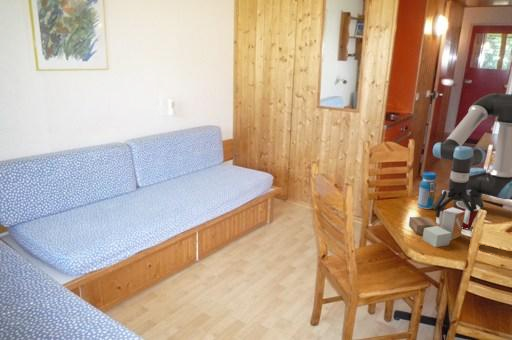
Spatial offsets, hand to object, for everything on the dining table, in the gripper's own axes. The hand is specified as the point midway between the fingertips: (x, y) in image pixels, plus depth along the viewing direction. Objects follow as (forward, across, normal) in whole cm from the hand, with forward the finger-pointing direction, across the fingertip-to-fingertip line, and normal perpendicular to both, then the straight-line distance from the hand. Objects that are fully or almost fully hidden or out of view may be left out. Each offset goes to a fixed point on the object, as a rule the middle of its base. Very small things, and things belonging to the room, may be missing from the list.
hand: (451, 223), depth 182 cm
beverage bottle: (+7, +6, +38) cm, 39 cm away
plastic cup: (+7, +13, +10) cm, 18 cm away
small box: (+7, 0, 0) cm, 7 cm away
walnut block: (+7, -10, +7) cm, 14 cm away
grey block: (+7, -10, -6) cm, 14 cm away
